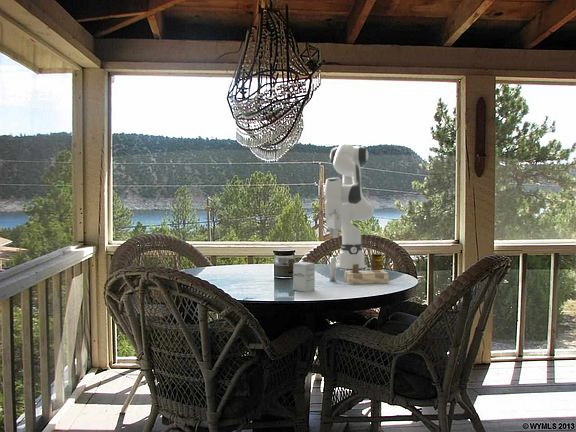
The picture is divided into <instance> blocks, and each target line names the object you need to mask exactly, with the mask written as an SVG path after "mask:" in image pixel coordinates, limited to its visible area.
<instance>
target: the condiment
mask: <svg viewBox="0 0 576 432" xmlns="http://www.w3.org/2000/svg"><path fill="white" fill-rule="evenodd" d="M376 270H383V256H382V254H381V253H372V254H371V258H370V271H376Z"/></svg>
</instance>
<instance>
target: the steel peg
mask: <svg viewBox="0 0 576 432" xmlns="http://www.w3.org/2000/svg"><path fill="white" fill-rule="evenodd" d="M336 263H337V256H335V257H334V256H330V257H329V282H337V281H336V280H337V278H336V277H337V268H336Z"/></svg>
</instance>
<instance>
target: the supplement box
mask: <svg viewBox="0 0 576 432" xmlns="http://www.w3.org/2000/svg"><path fill="white" fill-rule="evenodd" d="M315 264H316V263H314V262H310V261H309V262H307V261H300V262H299V261H298V262H293V264H292V265H293V266H292V267H293V270H292V271H293V273H292V278H293V279H292V280H293V281H292V283H293V284H292V285H293V286H292V290H293V291H298V292H304V293H307V292H312V291H315V287H316V286H315V285H316V284H315V279H316V277H315V275H316V274H315V273H316V272H315V269H316V267H315V266H316V265H315Z"/></svg>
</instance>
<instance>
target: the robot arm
mask: <svg viewBox="0 0 576 432" xmlns="http://www.w3.org/2000/svg"><path fill="white" fill-rule="evenodd" d="M369 155H370V154H369V151H368V149H367V147H366V146H362V145H360V146H359V145H358V146H356V145H352V144H351V143H349V142H344V143H343V142H342V143H341V144H339V146H336V147H333V148H332V149H331V150H330V154H329V158H330V159H329V161H330V163H331V164H332V165H333V168H334V170H335V171H336V172H337V173H338V174H340V175H342V176H341V177H336V176H335V177H329V178H327V179H326V180H325V185H324V186H325V187H324V198H325V202H324V210H323V211H324V214H325V226H326V227H327V228H328V231H329V237H332V238H334V239H338V238H339V237H338V236H339V235H338V234H339V230H341V231H340V232H341V246H340V253H339V255H337V256H336V261H337V262H336V269H342V270H343V269H345V270H353V264H359V269H364V268H365V269H366V268H368V265H366V263H365V253H364V251H362V249H363V248H362V247H363V245H362V231H361V230H360V228H358V227H357V226H355V225H353V224H352V223H351V221H367V220H370V219H372V217H373V216H374V213H375V208H374V207H373V204H371V203H370V201H368V200H367V199H366V197H365V196H364V193H363V190H362V172H361V171H362V169H361V167H363V166H364V165H365V164H366V163H367V162H368V160H369V157H370V156H369ZM341 178H342V179H341Z"/></svg>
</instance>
